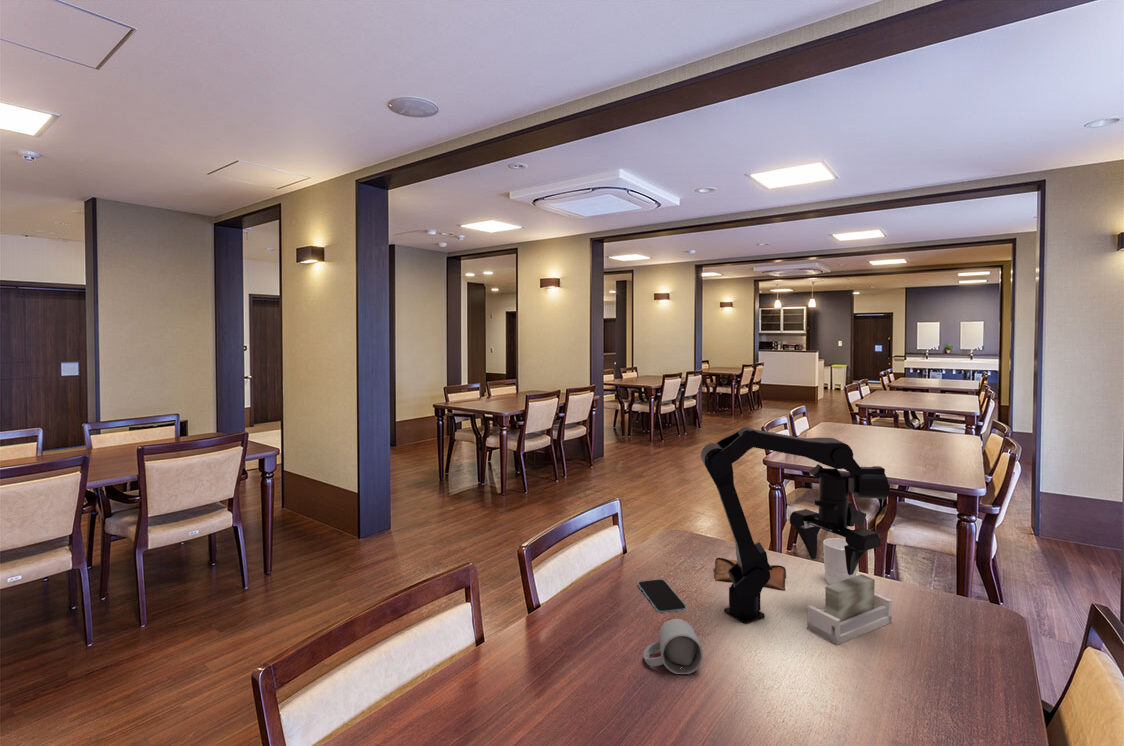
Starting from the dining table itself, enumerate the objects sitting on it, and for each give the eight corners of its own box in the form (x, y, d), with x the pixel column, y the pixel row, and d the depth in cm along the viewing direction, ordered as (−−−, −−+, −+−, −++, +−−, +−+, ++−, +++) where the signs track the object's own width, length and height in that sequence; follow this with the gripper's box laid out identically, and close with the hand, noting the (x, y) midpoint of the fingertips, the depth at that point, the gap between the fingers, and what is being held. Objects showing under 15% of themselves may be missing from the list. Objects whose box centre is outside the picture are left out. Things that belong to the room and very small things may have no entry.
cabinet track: (836, 645, 110) (837, 621, 110) (807, 629, 117) (807, 606, 116) (891, 622, 119) (891, 600, 118) (860, 608, 125) (861, 587, 125)
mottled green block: (837, 629, 113) (838, 592, 113) (825, 622, 116) (825, 586, 116) (873, 615, 119) (874, 579, 118) (860, 609, 122) (861, 574, 121)
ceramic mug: (694, 650, 109) (693, 613, 109) (703, 675, 101) (702, 635, 101) (641, 651, 110) (640, 614, 110) (646, 676, 102) (644, 636, 101)
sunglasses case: (711, 580, 140) (712, 554, 143) (713, 584, 146) (715, 558, 149) (787, 591, 134) (787, 562, 137) (786, 594, 140) (786, 567, 143)
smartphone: (658, 611, 124) (636, 581, 139) (658, 616, 124) (636, 585, 139) (688, 608, 126) (663, 578, 140) (688, 612, 126) (663, 582, 140)
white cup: (849, 576, 142) (850, 538, 141) (863, 590, 134) (864, 550, 133) (818, 575, 143) (818, 537, 142) (829, 589, 135) (830, 549, 134)
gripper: (899, 503, 114) (896, 576, 115) (822, 482, 131) (820, 545, 132) (864, 510, 109) (861, 586, 110) (788, 488, 126) (787, 554, 127)
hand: (831, 566), depth 120 cm, fingers open, 9 cm apart
